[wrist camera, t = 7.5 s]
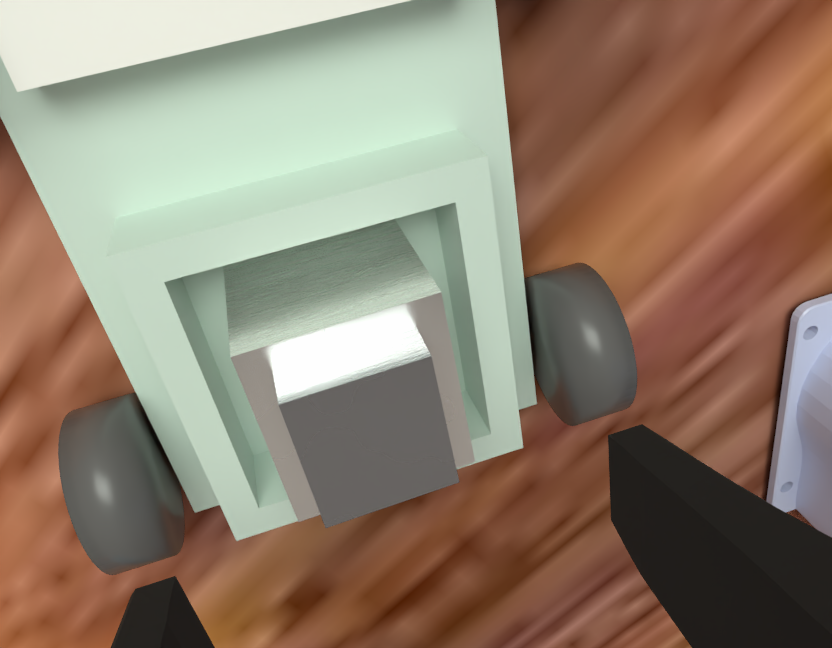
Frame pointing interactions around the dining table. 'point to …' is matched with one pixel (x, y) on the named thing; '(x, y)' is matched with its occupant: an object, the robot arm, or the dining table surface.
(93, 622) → the dining table surface
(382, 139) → the chassis
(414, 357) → the grey boxy piece
